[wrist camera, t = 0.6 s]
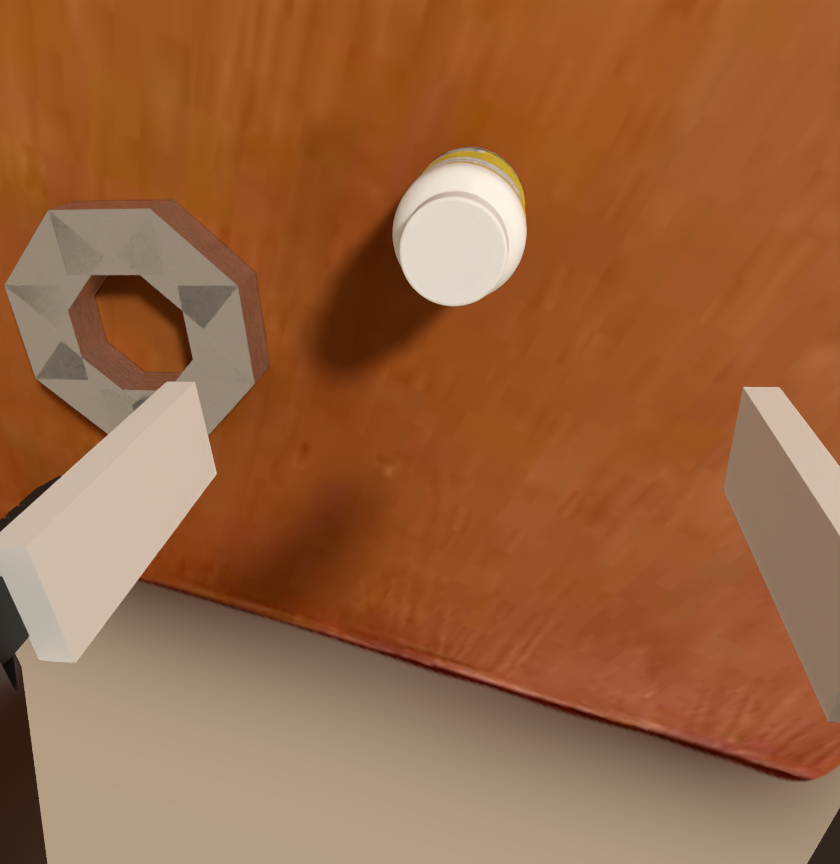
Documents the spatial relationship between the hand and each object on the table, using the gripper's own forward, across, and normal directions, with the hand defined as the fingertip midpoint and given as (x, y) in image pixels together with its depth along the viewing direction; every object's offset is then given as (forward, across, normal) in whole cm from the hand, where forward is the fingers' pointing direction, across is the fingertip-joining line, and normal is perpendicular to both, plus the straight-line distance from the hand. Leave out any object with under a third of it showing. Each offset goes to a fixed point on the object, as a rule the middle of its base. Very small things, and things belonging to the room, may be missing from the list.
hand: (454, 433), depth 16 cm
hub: (+20, -19, -4) cm, 28 cm away
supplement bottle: (+20, -1, +2) cm, 20 cm away
